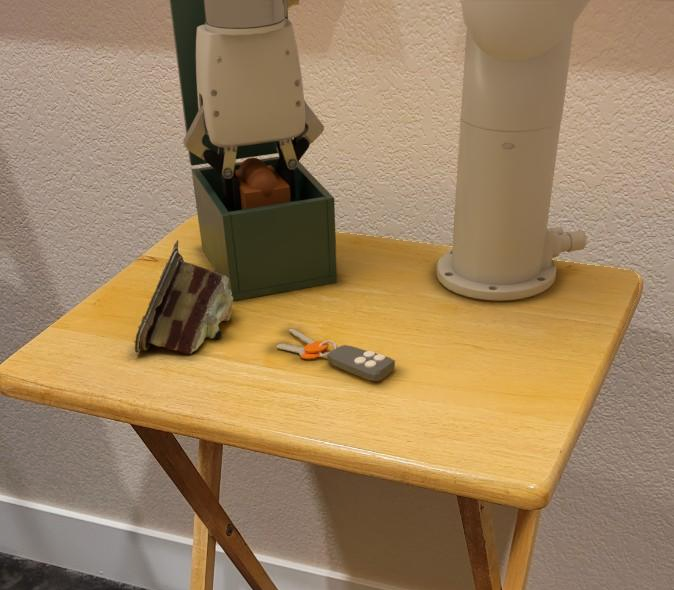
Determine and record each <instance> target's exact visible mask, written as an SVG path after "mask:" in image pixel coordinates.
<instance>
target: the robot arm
mask: <svg viewBox="0 0 674 590" xmlns="http://www.w3.org/2000/svg"><path fill="white" fill-rule="evenodd" d="M590 2H591V0H460V5H461V13H462V18H463V21H464V24H465V27H466V34H465V46H464V47H465V48H464V61H463V63H464V64H463V74H462V75H463V76H462V77H463V78H462V90H461V104H460V105H461V107H460V117H459V132H458V133H459V134H458V150H457V165H456V166H457V167H456V168H457V169H456V181H455V182H456V184H455V199H454V200H455V201H454V215H453V216H454V217H453V233H452V234H453V235H452V249H451V250H448V251H447V252H445V253H444V254H443V255H441V257H440V258H439V259H438V260H437V263H436V277H437V279H438V281H439V283H441V285H442V286H444V287H445V288H446V289H447V290H449V291H451V292H453V293H455V294H457V295H461V296H462V297H463V296H464V297H467V298H472V299H475V300H482V301H483V300H484V301H495V302H496V301H515V300H522V299H526V298H531V297H534V296H536V295H539V294H541V293H543V292H545V291H546V290H548V289H550V287H551V286H552V285H553V284H554V282H555V280H556V275H557V264H556V263H555V261H554V260H553V259H554V258H558V257H559V256H560V254H561V253H566V252H567V253H570V252H576V251H581V250H584V249H585V248H586V246H587V241H588V239H587V234H586V232H585V231H583V230H575V231H570V232H565V233H564V229H563V227H562V226H554V227H549V228H548V222H549V215H550V208H551V200H552V191H553V185H554V177H555V170H556V169H555V168H556V161H557V154H558V146H559V140H560V139H559V138H560V133H561V132H560V131H561V123H562V119H563V113H564V107H565V106H564V105H565V97H566V90H567V83H568V76H569V68H570V59H571V52H572V51H571V50H572V42H573V36H574V35H573V34H574V29H575V28H574V27H575V23H576V21H577V20H578V19H579V18H580V16H581V14H582V13H583V12H584V10H585V9H586V7H587V6H588V4H589V3H590ZM299 4H300V0H203V8H204V18H205V25H200V26H198V27H197V34H196V78H197V95H198V109H199V111H198V113H197V115H196V117H195V119H194V121H193V123H192V125H191V126H190V128H189V130H188V132H187V134H186V133H185V136H184V138H183V140H182V144H183V146H184V148H185V149H186V150H187V152H188V151H190V152H192V153H193V154H195V155H196V156H198V157H199V158H201V159H203V160H205V161H206V162H207V164H208V165H209V167H210V166H212V167H213V168H214V169H215V170H216V171H218V172H219V173H220V174H221V179H222V188H223V198H224V204H225V206H226V208H230V210H231V211H237V210H242V208H241V197H240V181H239V178H238V177H237V176H236V173H235V170H234V168H235V163H236V161H237V159H236V154H237V147H238V146H244V145H252V144H260V143H267V142H275V145H276V148H277V151H278V153H277V155H278V157H280V158H279V159H278V162H277V165H275V169H276V172H277V173H278V174H279V175H280V176H281V178H282V179H283V180H284V181H285V182H286V183H287V184H288V185H289V186H290V200H291V199H292V198H295V177H294V169H296V168H297V166H298V161H299V162H300V160H301V159H302V158H303V156H304V155H305V154H306V153H307V151H308V149H309V148H310V145H311V144H313V143H314V142H315V141H316V140H317V139H318V138H319V137H320V136H321V135H322V134H323V132H324V131H325V126H324V124H323V123H322V122H321V120H320V119H319V118H318V117H317V115H316V114H315V112H314V111H313V110H312V108H311V107H310V106H309V104H307V101H305V94H304V85H303V76H302V71H301V63H300V58H299V51H298V46H297V45H298V44H297V41H296V36H295V31H294V27H293V23H292V22H291V20H290V19H289V18H288V19H285V17H287V11H288V12H289V9H290V8H292V7H294V6H299ZM205 134H206V135H209V138H210V141H211V143H212V144H214V145H216V146H218V153H216V152H215V151H214V150H213V149H212V148H210V147H208V146H206V145H205V144H204V143H202V139H203V137H204V135H205ZM292 138H293V140H292V141H291V139H292ZM291 202H292V201H291Z"/></svg>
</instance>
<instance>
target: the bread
mask: <svg viewBox="0 0 674 590" xmlns="http://www.w3.org/2000/svg"><path fill="white" fill-rule="evenodd" d="M260 159H261V158H257V157H249V158H245V159H244V160H243V161H242V162H243V163H242V164H241V165H240V168H239V170H235V173H236V176H237V177H238V178H239V181H240V197H241V208H242V210H244V209H250V208H257V207H263V206H269V205H276V204H282V203H288V202H291V200H290V186H289V185H288V184H287V183H286V182H285V181H284V180H283V179H282V178H281V176H280V175H279V174H278V173H277V172H276V170H275V169H274V168H273V167H272V166H271V165H269V166H266V165H265V163H264V162H263V161H261V160H260Z"/></svg>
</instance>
